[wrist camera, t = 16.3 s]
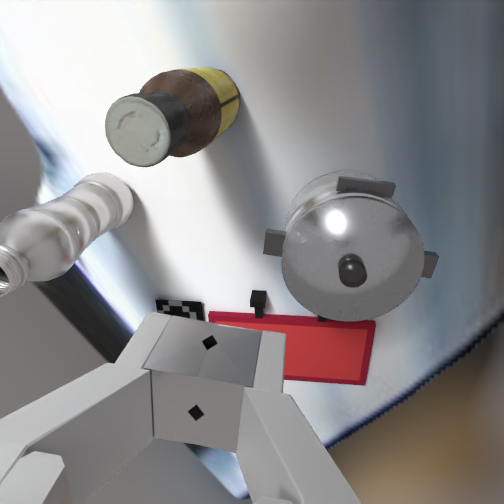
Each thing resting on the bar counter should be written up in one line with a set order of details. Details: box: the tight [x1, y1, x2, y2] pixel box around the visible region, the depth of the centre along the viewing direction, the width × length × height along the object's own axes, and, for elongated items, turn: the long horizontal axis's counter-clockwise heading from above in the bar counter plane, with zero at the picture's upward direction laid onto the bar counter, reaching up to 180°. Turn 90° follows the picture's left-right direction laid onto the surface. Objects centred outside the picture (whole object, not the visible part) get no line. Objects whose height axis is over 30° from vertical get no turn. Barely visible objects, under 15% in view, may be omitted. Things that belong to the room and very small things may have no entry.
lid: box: [281, 196, 425, 321], centre depth 33 cm, size 13×13×3 cm
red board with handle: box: [155, 290, 376, 385], centre depth 50 cm, size 30×3×15 cm
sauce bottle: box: [105, 68, 240, 167], centre depth 29 cm, size 6×6×20 cm
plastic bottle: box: [0, 173, 134, 296], centre depth 35 cm, size 6×7×20 cm
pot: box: [263, 171, 439, 278], centre depth 38 cm, size 14×17×8 cm
